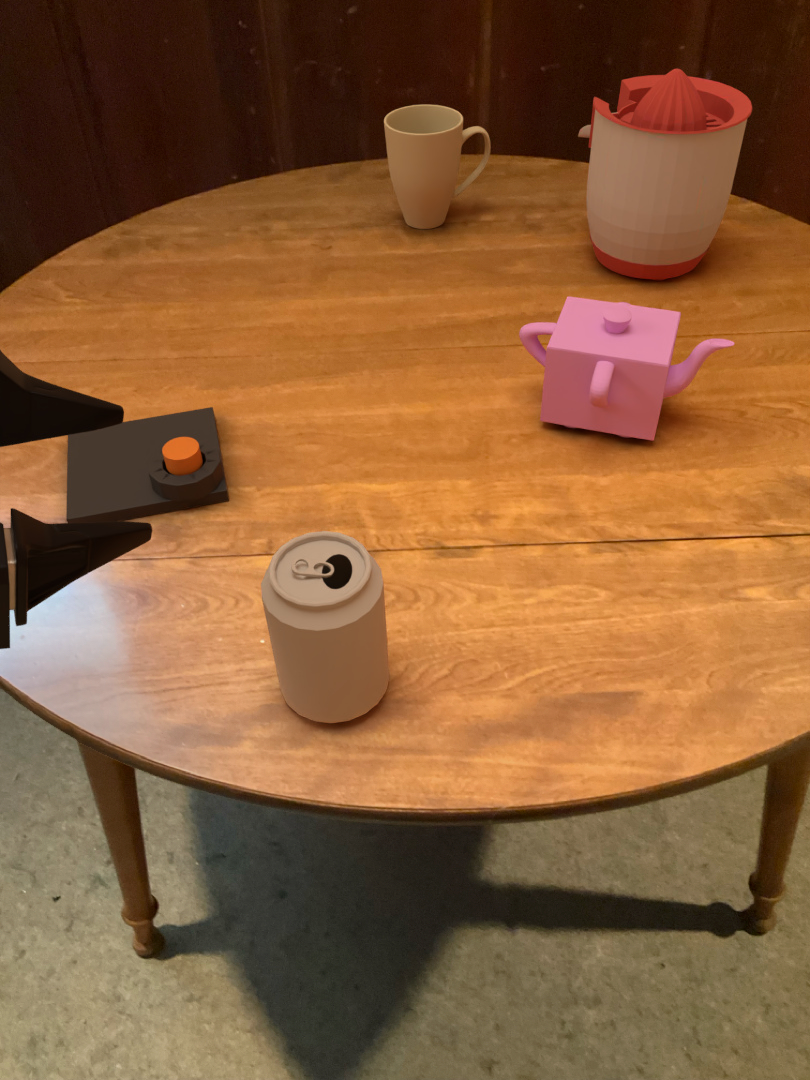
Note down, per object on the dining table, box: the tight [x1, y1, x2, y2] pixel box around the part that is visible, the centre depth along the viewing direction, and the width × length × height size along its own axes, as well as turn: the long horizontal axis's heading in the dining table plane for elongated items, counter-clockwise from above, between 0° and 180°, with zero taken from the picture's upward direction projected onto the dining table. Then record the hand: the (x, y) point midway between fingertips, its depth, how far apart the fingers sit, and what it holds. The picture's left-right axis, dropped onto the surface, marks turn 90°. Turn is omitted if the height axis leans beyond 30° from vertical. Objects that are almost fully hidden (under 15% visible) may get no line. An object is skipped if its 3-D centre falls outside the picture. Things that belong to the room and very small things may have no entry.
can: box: [260, 530, 391, 724], centre depth 59 cm, size 8×8×12 cm
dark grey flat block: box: [65, 406, 230, 523], centre depth 79 cm, size 13×12×3 cm
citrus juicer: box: [577, 68, 753, 281], centre depth 98 cm, size 16×17×20 cm
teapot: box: [518, 296, 735, 442], centre depth 81 cm, size 18×14×10 cm
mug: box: [383, 104, 492, 230], centre depth 109 cm, size 11×10×12 cm
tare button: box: [162, 437, 203, 476], centre depth 76 cm, size 3×3×2 cm
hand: (136, 470), depth 52 cm, fingers open, 9 cm apart
